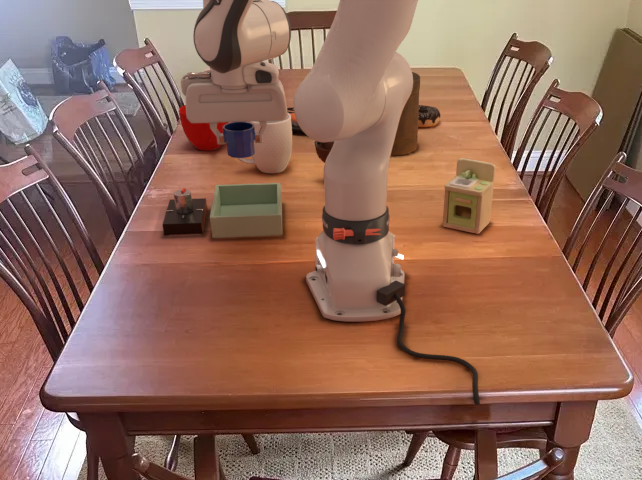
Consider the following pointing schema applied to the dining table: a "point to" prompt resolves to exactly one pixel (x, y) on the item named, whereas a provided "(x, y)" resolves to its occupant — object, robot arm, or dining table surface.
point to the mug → (273, 146)
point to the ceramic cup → (200, 132)
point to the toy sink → (469, 196)
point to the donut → (428, 116)
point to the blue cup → (239, 139)
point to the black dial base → (185, 219)
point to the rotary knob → (183, 201)
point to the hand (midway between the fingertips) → (240, 142)
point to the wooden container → (408, 123)
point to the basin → (246, 210)
